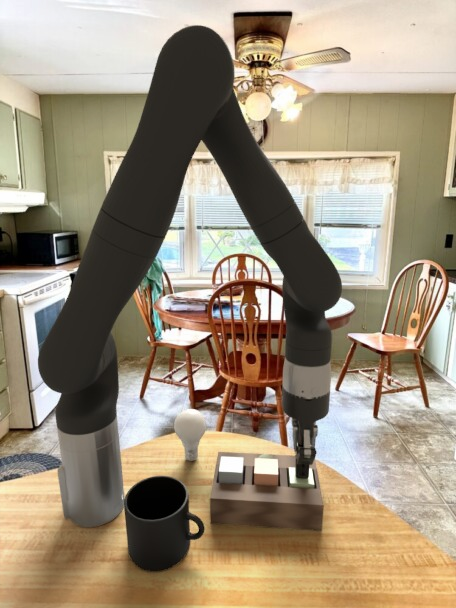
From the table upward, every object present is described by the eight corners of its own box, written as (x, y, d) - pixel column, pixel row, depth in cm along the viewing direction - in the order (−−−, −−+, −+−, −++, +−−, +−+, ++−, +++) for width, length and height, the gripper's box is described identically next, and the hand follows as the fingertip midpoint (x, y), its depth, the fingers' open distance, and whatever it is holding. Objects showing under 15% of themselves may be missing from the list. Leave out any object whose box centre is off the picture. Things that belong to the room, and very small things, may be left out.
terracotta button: (254, 495, 69) (254, 473, 67) (254, 479, 72) (254, 458, 71) (277, 497, 68) (278, 474, 67) (276, 480, 72) (277, 459, 71)
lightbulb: (206, 469, 79) (204, 420, 76) (173, 469, 79) (171, 420, 76) (208, 449, 85) (206, 402, 82) (178, 449, 85) (175, 402, 82)
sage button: (289, 505, 69) (290, 483, 67) (287, 488, 72) (288, 467, 71) (313, 506, 68) (314, 484, 67) (310, 489, 72) (311, 468, 71)
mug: (195, 583, 56) (193, 530, 54) (116, 565, 59) (111, 515, 56) (213, 529, 65) (212, 482, 62) (144, 516, 68) (140, 471, 65)
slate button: (219, 493, 69) (218, 471, 68) (221, 477, 73) (221, 456, 72) (242, 494, 69) (242, 472, 68) (243, 478, 73) (243, 457, 71)
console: (210, 523, 66) (209, 496, 65) (218, 474, 78) (218, 450, 76) (321, 530, 65) (323, 503, 63) (313, 479, 76) (314, 455, 75)
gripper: (281, 365, 71) (278, 450, 76) (284, 404, 58) (281, 503, 63) (324, 367, 70) (319, 452, 75) (337, 406, 58) (329, 506, 62)
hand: (301, 475), depth 69 cm, fingers closed
